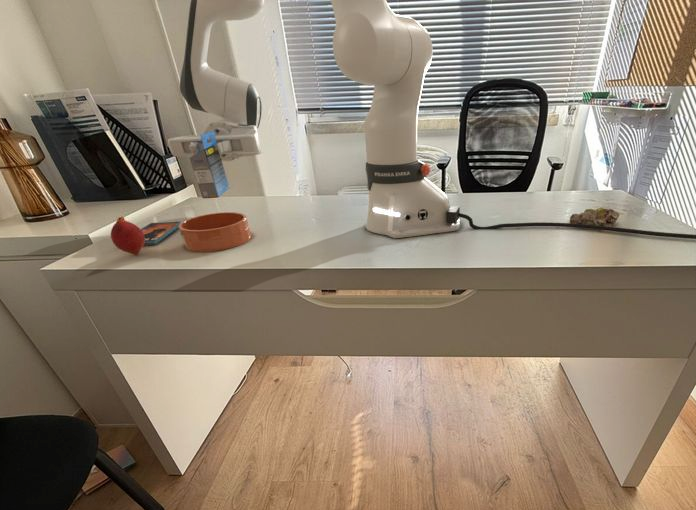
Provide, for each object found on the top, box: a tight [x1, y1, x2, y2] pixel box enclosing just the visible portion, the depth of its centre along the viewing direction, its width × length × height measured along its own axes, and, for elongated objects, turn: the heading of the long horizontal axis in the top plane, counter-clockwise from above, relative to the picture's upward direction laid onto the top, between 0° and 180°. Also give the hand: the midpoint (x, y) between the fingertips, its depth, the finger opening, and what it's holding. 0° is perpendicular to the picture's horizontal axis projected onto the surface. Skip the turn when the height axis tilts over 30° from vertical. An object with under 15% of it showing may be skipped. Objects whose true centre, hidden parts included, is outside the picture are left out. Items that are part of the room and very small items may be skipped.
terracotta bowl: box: [177, 211, 252, 253], centre depth 88 cm, size 14×14×4 cm
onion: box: [110, 215, 145, 256], centre depth 81 cm, size 6×6×8 cm
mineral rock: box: [569, 207, 620, 227], centre depth 88 cm, size 11×4×8 cm
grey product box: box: [189, 131, 230, 199], centre depth 86 cm, size 9×4×12 cm, turn 5°
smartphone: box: [141, 221, 183, 246], centre depth 94 cm, size 8×1×15 cm
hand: (205, 149), depth 85 cm, fingers closed on grey product box, 4 cm apart
